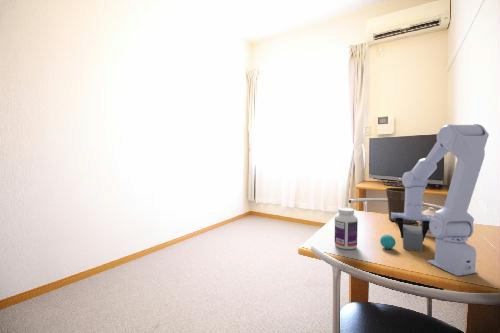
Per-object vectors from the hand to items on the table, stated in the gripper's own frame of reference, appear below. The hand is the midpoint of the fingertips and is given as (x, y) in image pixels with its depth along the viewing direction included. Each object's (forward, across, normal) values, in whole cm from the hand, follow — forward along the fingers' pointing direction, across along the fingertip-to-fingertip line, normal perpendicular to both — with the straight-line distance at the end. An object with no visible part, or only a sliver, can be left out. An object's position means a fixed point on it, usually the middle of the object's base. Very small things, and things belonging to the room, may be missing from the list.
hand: (412, 238), depth 96 cm
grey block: (+2, 0, 0) cm, 2 cm away
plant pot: (+3, +2, -36) cm, 36 cm away
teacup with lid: (+3, -9, -18) cm, 20 cm away
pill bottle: (+3, +22, +14) cm, 26 cm away
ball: (0, +8, +8) cm, 11 cm away
